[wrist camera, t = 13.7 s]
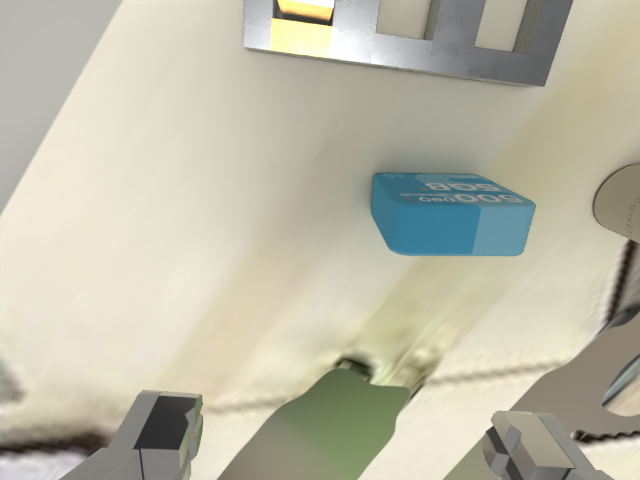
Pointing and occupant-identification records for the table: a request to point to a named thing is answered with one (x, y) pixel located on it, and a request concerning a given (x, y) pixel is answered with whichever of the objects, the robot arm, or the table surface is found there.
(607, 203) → the travel mug
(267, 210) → the table surface
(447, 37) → the hole rail
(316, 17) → the steel peg
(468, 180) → the data package
